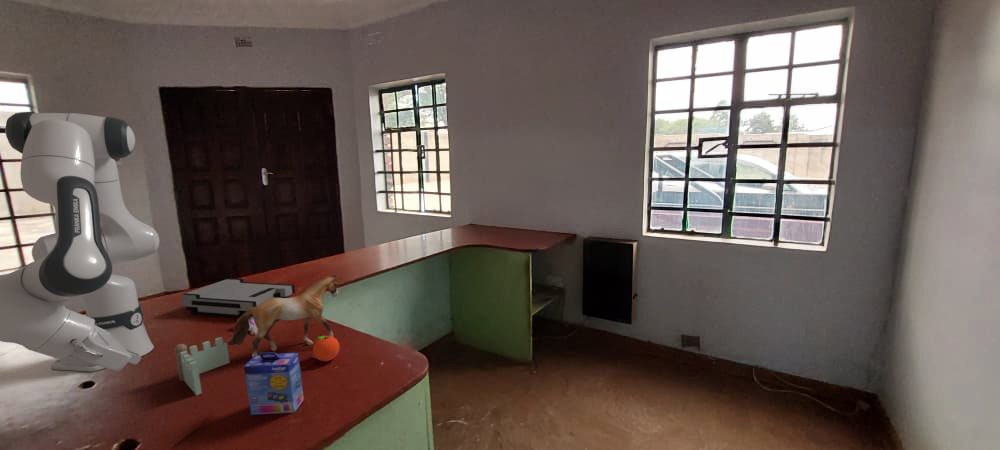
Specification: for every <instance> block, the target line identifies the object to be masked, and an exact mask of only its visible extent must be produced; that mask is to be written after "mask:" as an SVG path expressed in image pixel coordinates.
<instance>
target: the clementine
mask: <svg viewBox="0 0 1000 450" xmlns="http://www.w3.org/2000/svg"><path fill="white" fill-rule="evenodd" d="M313 344H314V345H313V349H312V352H313V355H314V357H315V358H316V359H317V360H319V361H321V362H329V361H331V360H333V359H334V358H336V356H337V355H338V354H339V352H340V348H341V347H340V343H339V341H338V338H336V337H334V336H333V337H332V336H330V335H321V336H318V337H316V338H315V339H314V341H313Z"/></svg>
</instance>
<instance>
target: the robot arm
mask: <svg viewBox="0 0 1000 450" xmlns="http://www.w3.org/2000/svg"><path fill="white" fill-rule="evenodd" d="M4 129H5V130H4V131H5V136H6V139H7V141H8V143H9V145H10V147H11V148H12V149H13V150H15V151H17V152H18V153H19V154H22V156H21V162H20V173H19V174H20V181H21V182H20V183H21V186H22V190H23V191H24V192H25V193H26V195H28V196H29V197H31V198H32V199H34V200H35V201H38V202H41V203H44V204H49V205H52V206H53V208H54V211H55V212H54V213H55V233H51V234H47V235H44V236H43V235H42V236H40V237H39V238H38V239H37V240H36V241H35V242H34V243H33V246H32V248H31V256H32V259H33V261H31V262H30V263H28V264H26V265H24V266H22V267H20V268H18V269H17V270H15V271H11V272H10V273H8V274H4V275H2V276H0V342H1V343H10V344H11V343H12V344H15V345H19V346H22V347H24V348H25V349H26V350H29V351H31V352H35V353H38V354H42V355H45V356H48V357H51V358H55V359H57V360H56V361H53V363H51V365H50V369H51V370H59V371H60V370H61V371H62V370H63V371H76V372H97V371H99V370H103V369H106V370H107V369H108V370H110V371H114V372H120V371H121V370H122V369H124V367H125V366H126V365H127V364H128V363H130V364H132V365H137V364H138V363H140V361H141V360H142V356H146V355H147V354H149V353H150V352H151V351H152V350H153V349H154V347H155V346H154V345H153V342H152V341H151V339H150V337H149V335H148V332H147V329H146V327H145V324H144V322H143V317H144V314H143V308H142V305H141V304H140V303H139V298H138V293H137V287H136V283H135V282H134V281H133V280H132V279H131V278H130V277H128V276H124V275H120V274H119V275H118V274H113V264H119V263H123V262H124V263H125V262H131V261H135V260H138V259H142V258H146V257H149V256H150V255H153V254H155V253H156V252H157V250H158V249H159V247H160V242H161V241H160V236H159V234H158V232H157V230H156V229H155V228H154V227H152V226H151V225H149V224H147V223H144V222H142V221H140V220H138V219H137V217H135V216H133V215H132V214H131V213H130V212H129V210H128V208H127V207H126V205H125V202H124V197H123V193H122V188H121V182H120V176H119V175H120V174H119V170H118V166H117V162H118V161H120V160H121V159H123V158H127V157H128V156H130V155H131V154H132V153H133V150H134V148H135V145H136V137H135V133H134V131H133V130H132V128H131V125H130V124H129V123H127V121H125V120H124V119H122V118H121V119H120V118H117V117H113V116H106V117H105V116H101V115H100V116H99V115H92V114H87V113H85V114H84V113H76V112H71V113H65V112H61V113H60V112H35V111H22V112H21V111H20V112H15V113H14V114H12V115H10V116H9V117H8V118H7V120H6V122H5V127H4ZM77 296H81V297H82V298H81V299H82V301H83V305H84V310H85V313H86V315H84V314H81V313H79V312H77V311H74V310H71V309H69V308H67V307H66V303H68V301H69V300H70V299H73V298H76V297H77Z"/></svg>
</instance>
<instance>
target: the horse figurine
mask: <svg viewBox="0 0 1000 450" xmlns="http://www.w3.org/2000/svg"><path fill="white" fill-rule="evenodd" d="M339 276H340V275H336V274H334V275H332V276H330V275H325V276H323V277H321V278H319V279H317V280H315V281H314V282H313V283H312V284H310V285H309V286H308V287H306V288H304V290H302V291H301V292H300V293H299V294H297V295H295V296H292V297H288V298H270V299H267V300H265V301H264V302H262V303H260V304H259V305H258V306H256V307H254V308H251V309H250V310H248V311H246V312H245V313H244V314H243V315H242V316H240V318H237V320H238V321H237V320H236V323H235V325H234V326H233V335H232V338H231V339H230V340H229V341H227V346H234V345H237V346H241V345H242V344H243V342H244V341H245V339H246V337H247V335H248V333H249V331H248V330H249V319H250V318H251V317H253V319H254V322H255V325H256V327H257V328H258V333H257V335H256V337H254V339H253V340H252V346H253V347H252V354H251V357H252V358H253V357H254V356H255V355H258V346H259V344H260V342H261V340H262V339H265V340H266V341H267V342H268V344H269V345H270V346H271V347H270V348H271V349H270V350H271V351H272V352H276V351H277V350H278V346H277V345H276V342H275V341H274V340H273V339H272V338H271V337H270V335H269V333H270V331H271V330H272V329H273V327H274V326H275V325H276V323H278V322H279V321H296V320H301V319H304V324H303V330H304V335H303V340H304V341H306V345H308V346H312V345H313V344H314V341H312V340H311V339H309V338H308V332H309V324H310V320H311V318H312V319H314V320H315V321H316V322H318V323H320V324H321V325H323V326H324V328H326V330H327V332H328V334H329V335H328V336H332V337H334V333H333V331H332V328H331V326H330V324H329V322H328V321H327V320H326V317H325V316H324V315H323V312H324V306H323V302H322V300H323V298H324V296H325V293H326V291H328V292H329V293H330V295H331V296H332V297H333V298H336V297H337V296H338V294H339V291H338V288H337V287H338V285H339V283H338V281H337V279H338V277H339Z"/></svg>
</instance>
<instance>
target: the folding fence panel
mask: <svg viewBox="0 0 1000 450" xmlns="http://www.w3.org/2000/svg"><path fill="white" fill-rule="evenodd" d="M187 353H188V351H187V352H186V351H183V352H180V355H181V363H182V369H183V375H184V382H185V384H186V385H187V386H188V387H189V388H190V390H191V391H192V392H193V394H194V395H195V396H198V395H200V394H201V395H202V393H203V392H202V385H201V379H200V374H199V372H198V367H197V362H196V361H194V359H193V358H190V355H189V354H190V353H188V354H187Z"/></svg>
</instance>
